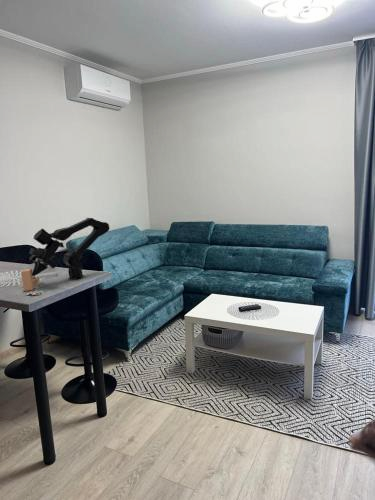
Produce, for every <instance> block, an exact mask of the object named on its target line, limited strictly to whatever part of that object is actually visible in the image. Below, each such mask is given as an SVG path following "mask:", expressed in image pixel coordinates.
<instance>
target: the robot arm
mask: <svg viewBox="0 0 375 500" xmlns="http://www.w3.org/2000/svg"><path fill="white" fill-rule="evenodd" d="M88 227H91V228H92V231H91V232H90V233H89V234H88V235H87V236H86V238H85V239H84V240H82V242H80V244H79V245H77V247H76V248H75V249H69V250H68V251H67V252H66V253H65V254H64V256H63V264H65V265H66V266H67V267H68V280H80V279H82V278H83V276H84V277H85V274H83V265H84V263H83V262H82V261H80V260H81V258H82V255H83V254H84V253H85V252H86V251H87V250H88V249H89V248H90V247H91V245H93V243H94V242H96V240H97V239H98V238H99V237H101V236H103V235H105V234H106V233H108V232H109V230H110V225H109V223H108V222H105V221H100V220H97V219H94V218H93V217H86V218H85V219H83V220H81V221H79V222H76V223H74V224H72V225H70V226H67V227H66V226H65V227H61V228H57V229H55V230H54V231H53V232H51V233H50V232H48V231H46V230H45V229H44V228H40V229H39V230H38V231H37V232H36V233H35V234H34V235H33V240H34V241H36V242H37V243H40V245H42V246H45V247H44V248H41V247H37V248H35V247H34V248H32V247H31V248H29V249H30V250H29V253H28V254H29V255H30V256H29V258H28V259H29V260H30V261H32V262H33V263H34V264H35V266H34V270H33V273H32V275H33V276H36V275H37V274H39V273H40V272H42V271H44V270H45V269H48V265H49V266H51V268H55V269H56V266H57V263H56V262H55V261H54V260H52V258H54V257H56V253H57V251H58V249H59V248H61V249H62V248H65V246H64V242H62V241H66V240H68V239H70V237H71V236H72V235H74V234H75V233H78V232H80V231H82V230H83V229H86V228H88ZM60 241H61V242H60Z"/></svg>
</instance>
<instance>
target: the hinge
mask: <svg viewBox="0 0 375 500" xmlns="http://www.w3.org/2000/svg"><path fill="white" fill-rule="evenodd" d="M34 266H35V264H34V262H33V263H31V264H28V265H27V266H25V269H32V273H33V270H34ZM57 275H58V274H57V269H56V267H55V268H51V266H49V265H48V269H45V270H44V271H42V272H40V273H39V274H37V275H36V276H33V277H39V280H41V279H48V278H54V277H57Z"/></svg>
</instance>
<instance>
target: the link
mask: <svg viewBox="0 0 375 500" xmlns="http://www.w3.org/2000/svg"><path fill="white" fill-rule="evenodd" d="M20 273H21V274H20V275H21V277H22V280H23V286H24V287H23V291H24V292H26V291H34V289H35V288H36V286H34V285H35V283H38V282H39V281H40V282H41V279H39V277H35V279H33V275H32V269H26V268H25V269H22V270H21V271H20Z"/></svg>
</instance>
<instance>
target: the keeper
mask: <svg viewBox="0 0 375 500" xmlns="http://www.w3.org/2000/svg"><path fill="white" fill-rule="evenodd" d="M18 279H19V286H20V288H24V286H23V280H22V276H20V277H18Z"/></svg>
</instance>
